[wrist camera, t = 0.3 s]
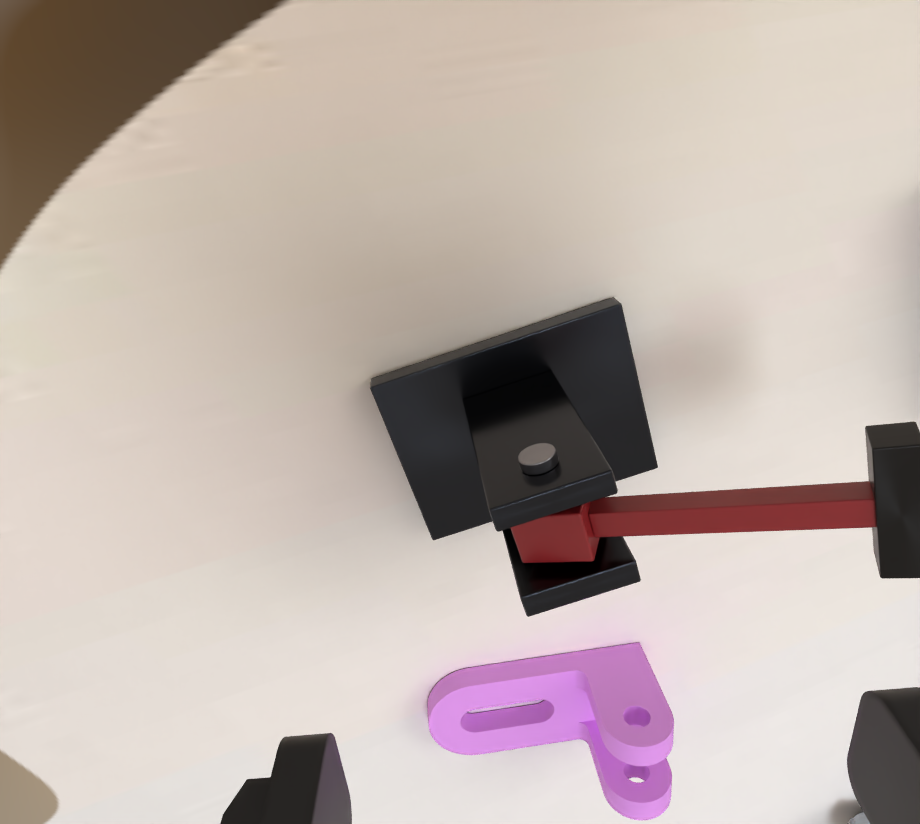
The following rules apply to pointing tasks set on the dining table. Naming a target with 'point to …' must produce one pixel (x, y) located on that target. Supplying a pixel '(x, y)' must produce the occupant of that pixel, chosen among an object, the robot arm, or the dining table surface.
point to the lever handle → (758, 510)
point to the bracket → (568, 717)
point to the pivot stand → (526, 439)
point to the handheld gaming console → (859, 819)
